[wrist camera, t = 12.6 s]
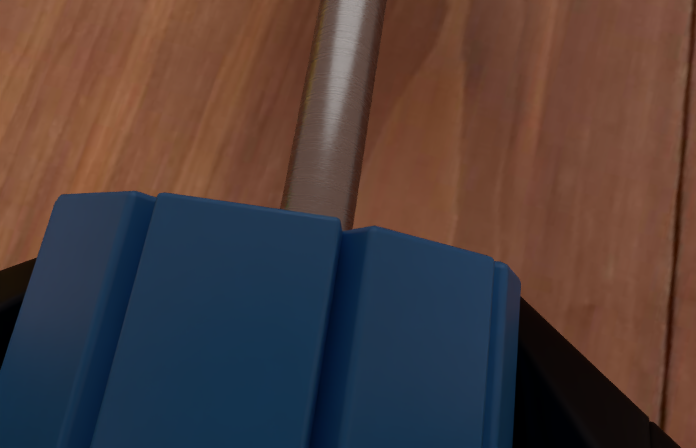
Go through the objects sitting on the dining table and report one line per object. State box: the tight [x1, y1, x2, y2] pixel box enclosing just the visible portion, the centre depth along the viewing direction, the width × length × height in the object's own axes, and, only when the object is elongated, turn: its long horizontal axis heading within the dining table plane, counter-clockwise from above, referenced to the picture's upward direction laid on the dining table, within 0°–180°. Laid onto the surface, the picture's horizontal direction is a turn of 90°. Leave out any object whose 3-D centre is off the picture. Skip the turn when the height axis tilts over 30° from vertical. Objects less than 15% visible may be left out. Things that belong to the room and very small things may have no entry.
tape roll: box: [0, 191, 521, 448], centre depth 6 cm, size 3×7×7 cm, turn 81°
